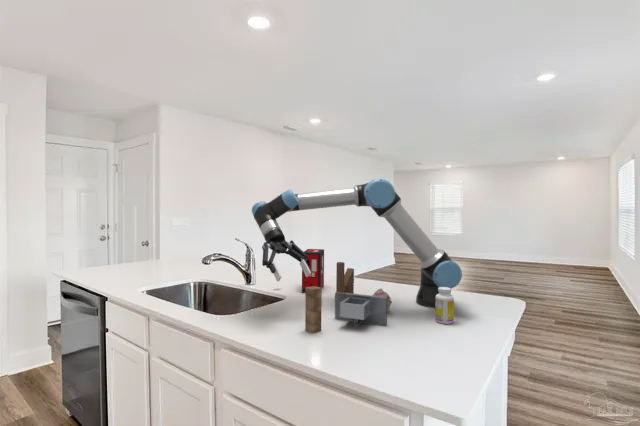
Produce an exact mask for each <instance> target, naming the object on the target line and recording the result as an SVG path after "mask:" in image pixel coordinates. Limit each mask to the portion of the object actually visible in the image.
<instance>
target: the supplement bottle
mask: <svg viewBox="0 0 640 426" xmlns="http://www.w3.org/2000/svg"><path fill="white" fill-rule="evenodd" d="M438 292H439V294H437V295H436V298H435V307H434V310H435V314H434V315H435V317H434V318H435V319H434V320H435V322H436V323H439V324H443V325H451V324H453V323H454V320H455V311H454V310H455V298H454V296H453V294H451V293H452V289H451V288H448V287H439V288H438Z"/></svg>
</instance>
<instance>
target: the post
mask: <svg viewBox="0 0 640 426" xmlns="http://www.w3.org/2000/svg"><path fill="white" fill-rule="evenodd" d="M322 290H323V289H322V288H320V287H316V286H312V287H307V288H306V293H305V304H304V305H305V308H304V310H305V313H304V314H305V316H304V317H305V318H304V319H305V320H304V321H305V323H304V327H305V328H304V330H305V331H307V332H309V333H310V334H311V333H312V334H314V333H318V332H322V303H323V301H322Z"/></svg>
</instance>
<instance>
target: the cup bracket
mask: <svg viewBox="0 0 640 426" xmlns="http://www.w3.org/2000/svg"><path fill="white" fill-rule="evenodd" d="M334 319H337V320H343V321H349V322H354V326H359V325H360V324H361V323H363V324H369V325H370V324H371V325H378V326H384V327H386V326H387V325H388V314H387V297H378V296H372V295H369V294H359V293H354V294H352V293H344V292H336V291H335V292H334Z"/></svg>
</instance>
